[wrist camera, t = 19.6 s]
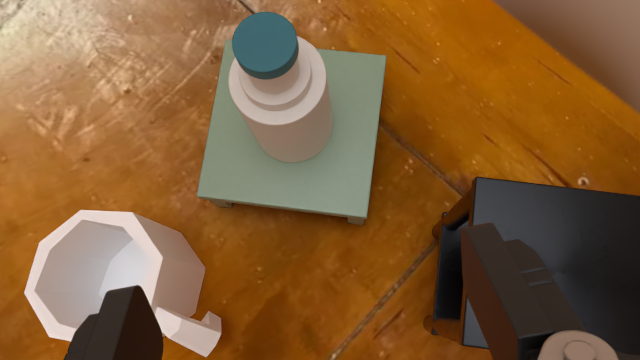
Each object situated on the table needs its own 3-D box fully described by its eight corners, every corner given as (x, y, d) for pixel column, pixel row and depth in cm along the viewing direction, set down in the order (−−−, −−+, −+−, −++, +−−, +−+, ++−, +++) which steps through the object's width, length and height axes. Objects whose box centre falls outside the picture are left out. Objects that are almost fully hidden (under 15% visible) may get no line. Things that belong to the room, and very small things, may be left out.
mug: (77, 302, 43) (-2, 301, 34) (140, 207, 45) (81, 180, 35) (205, 389, 41) (160, 414, 32) (267, 286, 43) (242, 281, 33)
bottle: (337, 92, 40) (328, -6, 28) (327, 167, 39) (312, 101, 27) (261, 84, 41) (218, -16, 28) (248, 158, 40) (198, 88, 27)
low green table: (383, 81, 46) (386, 55, 41) (365, 227, 43) (366, 217, 38) (239, 66, 47) (225, 38, 42) (213, 208, 44) (196, 196, 39)
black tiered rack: (540, 237, 42) (647, 196, 27) (534, 347, 41) (644, 372, 25) (432, 223, 43) (475, 176, 27) (422, 331, 41) (461, 345, 26)
